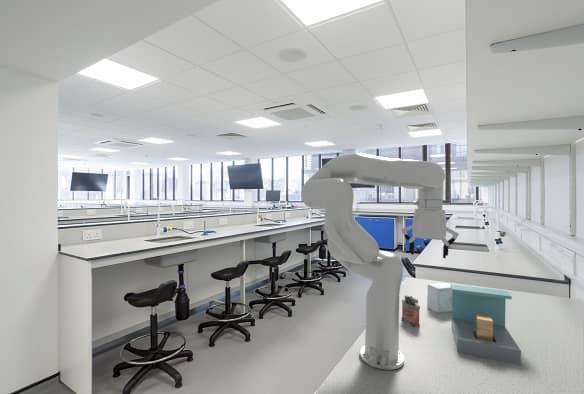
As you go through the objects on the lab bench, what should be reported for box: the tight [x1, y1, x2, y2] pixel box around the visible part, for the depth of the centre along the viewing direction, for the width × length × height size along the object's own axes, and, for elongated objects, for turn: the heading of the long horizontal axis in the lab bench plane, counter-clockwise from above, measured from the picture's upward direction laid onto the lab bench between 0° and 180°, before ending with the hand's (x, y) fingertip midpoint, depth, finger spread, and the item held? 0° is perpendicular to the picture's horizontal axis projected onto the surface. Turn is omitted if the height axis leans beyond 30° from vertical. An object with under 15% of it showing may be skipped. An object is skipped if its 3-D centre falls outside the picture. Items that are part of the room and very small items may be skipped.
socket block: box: [451, 284, 522, 365], centre depth 95 cm, size 18×17×16 cm
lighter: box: [401, 294, 421, 328], centre depth 110 cm, size 8×3×10 cm, turn 21°
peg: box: [476, 314, 493, 342], centre depth 91 cm, size 4×4×10 cm
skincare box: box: [426, 282, 452, 314], centre depth 124 cm, size 10×6×10 cm, turn 107°
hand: (428, 255), depth 97 cm, fingers open, 9 cm apart
